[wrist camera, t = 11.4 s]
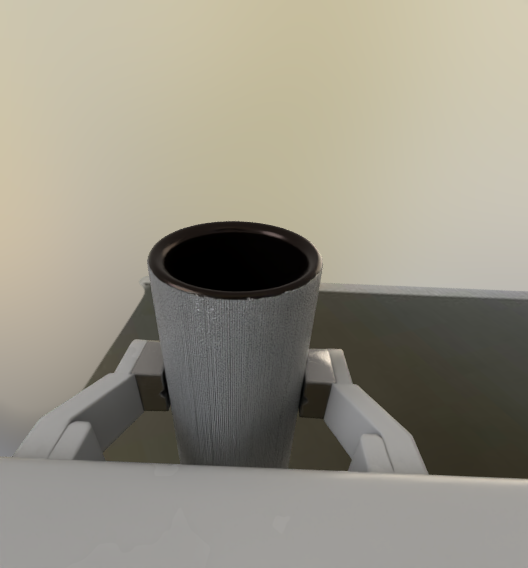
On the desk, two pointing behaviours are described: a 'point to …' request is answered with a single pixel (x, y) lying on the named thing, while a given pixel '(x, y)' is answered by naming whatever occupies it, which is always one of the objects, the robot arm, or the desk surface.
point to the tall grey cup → (234, 338)
